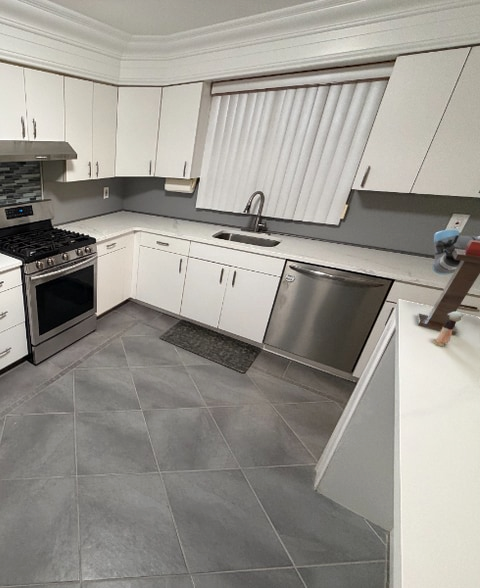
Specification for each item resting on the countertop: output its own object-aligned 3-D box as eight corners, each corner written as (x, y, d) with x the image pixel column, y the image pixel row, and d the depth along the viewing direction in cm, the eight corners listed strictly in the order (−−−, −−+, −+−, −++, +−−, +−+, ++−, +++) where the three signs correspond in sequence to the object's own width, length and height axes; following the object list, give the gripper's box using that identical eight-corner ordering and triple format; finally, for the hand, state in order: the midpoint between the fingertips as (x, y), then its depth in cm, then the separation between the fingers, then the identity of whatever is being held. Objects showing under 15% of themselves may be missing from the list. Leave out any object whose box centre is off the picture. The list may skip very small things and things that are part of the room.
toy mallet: (490, 257, 107) (498, 245, 105) (465, 253, 111) (472, 241, 109) (482, 248, 117) (489, 237, 115) (459, 245, 121) (466, 234, 119)
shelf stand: (454, 335, 115) (502, 262, 102) (417, 325, 121) (458, 255, 108) (451, 323, 123) (495, 254, 110) (416, 314, 129) (454, 248, 116)
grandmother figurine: (447, 349, 107) (468, 317, 101) (432, 344, 109) (451, 313, 103) (445, 340, 112) (465, 310, 106) (430, 336, 114) (449, 306, 109)
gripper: (493, 274, 124) (524, 259, 106) (414, 260, 138) (430, 244, 120) (501, 257, 123) (533, 239, 106) (421, 244, 137) (438, 226, 120)
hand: (478, 242), depth 113 cm, fingers open, 11 cm apart
